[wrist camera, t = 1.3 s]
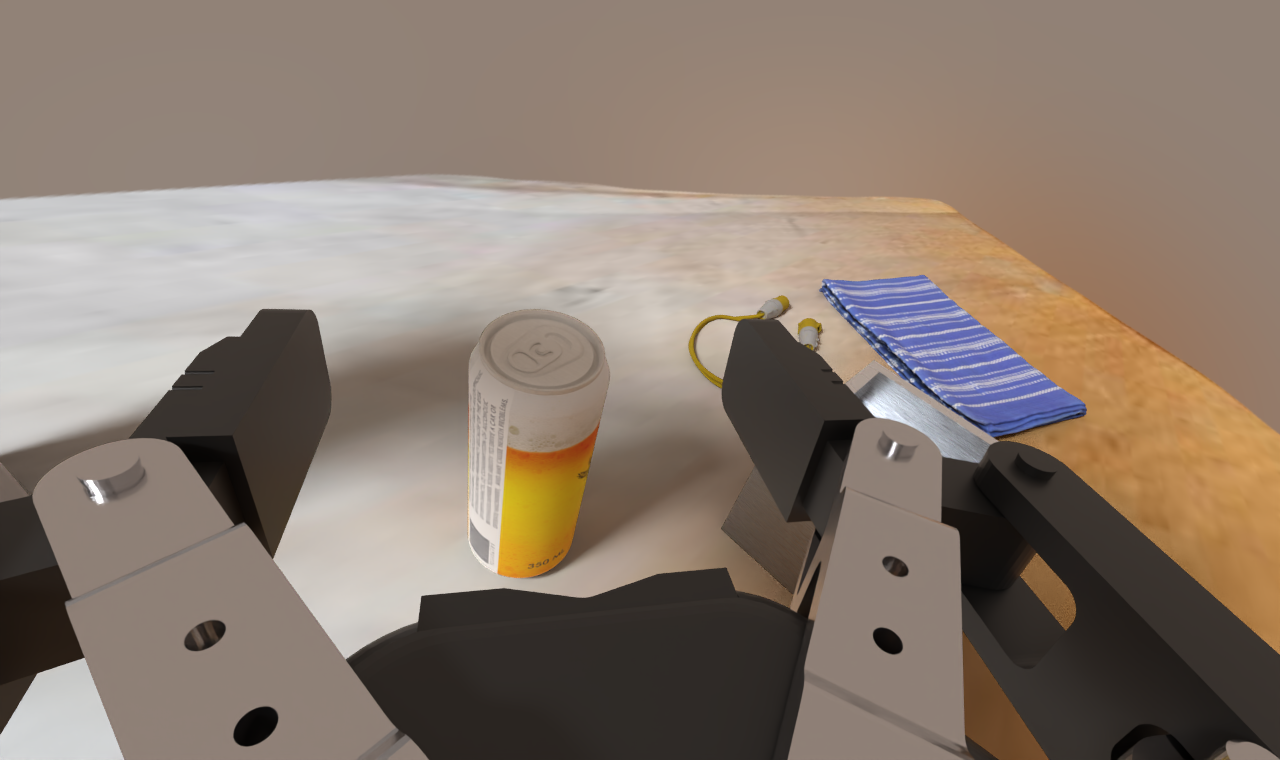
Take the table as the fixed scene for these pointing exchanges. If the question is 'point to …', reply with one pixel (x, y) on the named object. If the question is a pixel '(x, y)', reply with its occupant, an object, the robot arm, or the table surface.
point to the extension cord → (769, 310)
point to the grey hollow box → (885, 397)
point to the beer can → (531, 437)
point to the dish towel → (950, 354)
